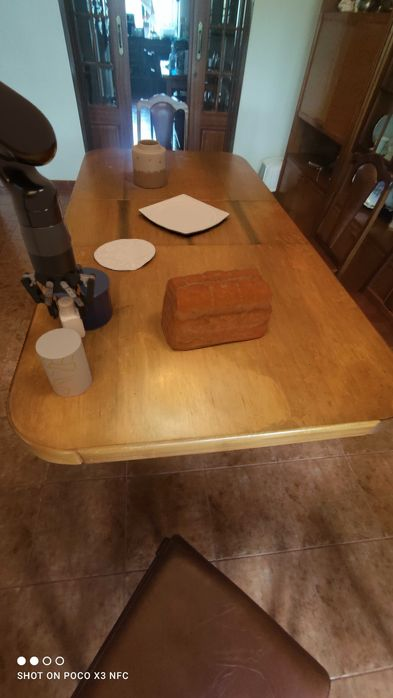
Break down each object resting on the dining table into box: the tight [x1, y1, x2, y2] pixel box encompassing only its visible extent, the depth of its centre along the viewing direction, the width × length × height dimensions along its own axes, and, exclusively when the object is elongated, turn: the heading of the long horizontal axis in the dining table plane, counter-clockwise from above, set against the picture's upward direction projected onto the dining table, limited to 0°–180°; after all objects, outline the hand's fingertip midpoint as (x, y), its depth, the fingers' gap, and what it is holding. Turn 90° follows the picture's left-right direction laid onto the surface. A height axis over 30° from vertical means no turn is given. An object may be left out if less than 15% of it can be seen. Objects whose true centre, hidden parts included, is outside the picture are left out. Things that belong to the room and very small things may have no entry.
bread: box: [160, 268, 274, 351], centre depth 78 cm, size 14×27×15 cm, turn 106°
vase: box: [131, 138, 167, 190], centre depth 145 cm, size 15×15×17 cm
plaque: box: [93, 238, 156, 271], centre depth 105 cm, size 20×20×2 cm
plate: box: [138, 193, 230, 236], centre depth 126 cm, size 29×29×3 cm
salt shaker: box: [57, 297, 86, 339], centre depth 69 cm, size 4×4×10 cm
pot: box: [54, 287, 114, 332], centre depth 81 cm, size 13×13×10 cm
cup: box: [35, 327, 93, 398], centre depth 64 cm, size 8×8×12 cm
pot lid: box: [54, 263, 111, 302], centre depth 76 cm, size 14×14×6 cm
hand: (70, 316), depth 68 cm, fingers closed on salt shaker, 5 cm apart
